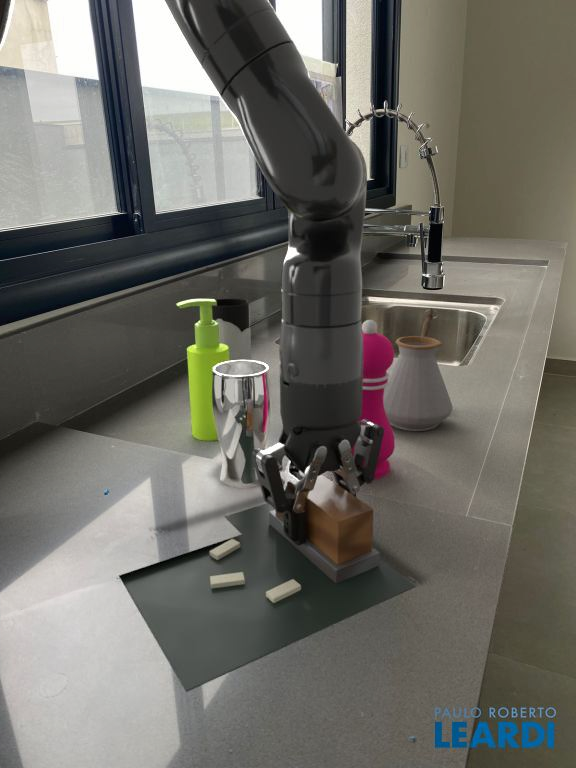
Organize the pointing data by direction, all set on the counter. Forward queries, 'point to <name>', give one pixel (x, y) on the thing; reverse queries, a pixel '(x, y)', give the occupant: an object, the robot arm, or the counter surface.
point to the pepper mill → (377, 390)
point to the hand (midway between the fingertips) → (320, 531)
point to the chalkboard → (246, 600)
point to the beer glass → (241, 417)
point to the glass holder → (234, 327)
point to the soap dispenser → (203, 368)
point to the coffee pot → (417, 384)
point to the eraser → (334, 531)
